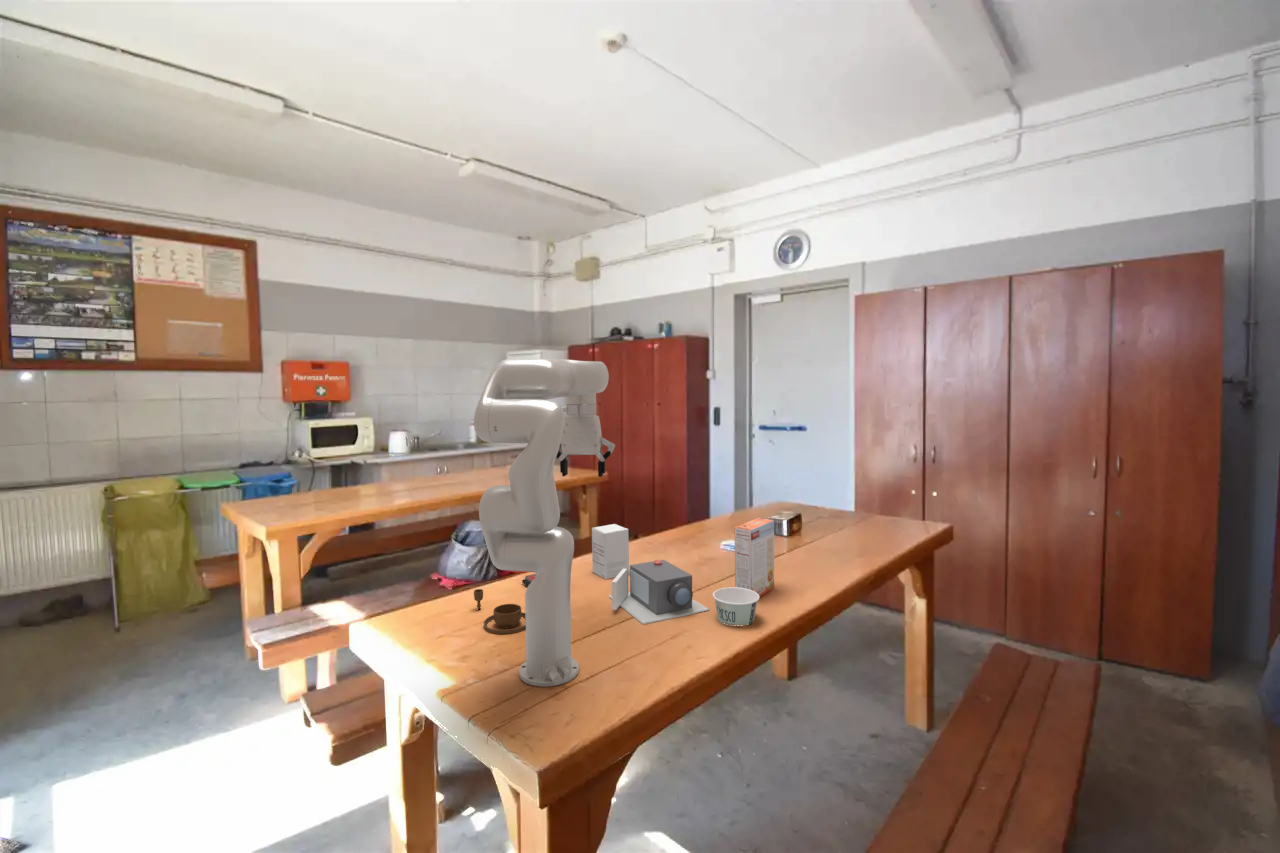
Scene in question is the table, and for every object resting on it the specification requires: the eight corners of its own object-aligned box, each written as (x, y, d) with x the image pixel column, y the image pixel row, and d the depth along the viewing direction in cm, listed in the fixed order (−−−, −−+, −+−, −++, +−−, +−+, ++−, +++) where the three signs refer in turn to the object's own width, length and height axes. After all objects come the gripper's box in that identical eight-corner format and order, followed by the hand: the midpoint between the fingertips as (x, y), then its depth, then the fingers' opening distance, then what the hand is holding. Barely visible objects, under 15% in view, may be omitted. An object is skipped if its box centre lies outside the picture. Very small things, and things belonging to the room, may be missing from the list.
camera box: (709, 610, 160) (709, 573, 159) (643, 624, 151) (642, 585, 150) (669, 585, 180) (669, 552, 179) (608, 596, 171) (608, 562, 170)
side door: (616, 609, 158) (616, 582, 158) (611, 609, 159) (611, 581, 158) (628, 593, 171) (628, 567, 170) (624, 592, 171) (623, 567, 170)
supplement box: (615, 567, 198) (615, 523, 197) (629, 574, 190) (629, 528, 189) (591, 572, 193) (590, 527, 192) (605, 579, 185) (604, 532, 184)
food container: (765, 616, 156) (765, 591, 156) (749, 632, 146) (749, 606, 145) (723, 607, 162) (723, 584, 162) (705, 623, 152) (705, 598, 152)
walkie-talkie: (515, 586, 181) (547, 606, 165) (515, 572, 181) (547, 590, 165) (541, 580, 186) (574, 598, 170) (541, 566, 186) (574, 583, 170)
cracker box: (756, 584, 180) (757, 516, 179) (775, 588, 176) (775, 519, 175) (733, 597, 169) (733, 525, 168) (752, 602, 166) (752, 529, 164)
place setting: (471, 641, 144) (470, 617, 143) (471, 610, 163) (471, 589, 162) (543, 632, 148) (543, 609, 148) (536, 603, 168) (535, 583, 167)
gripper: (545, 411, 152) (546, 477, 153) (611, 411, 150) (612, 478, 151) (553, 410, 160) (554, 473, 161) (616, 410, 157) (617, 474, 159)
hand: (582, 475), depth 156 cm, fingers open, 9 cm apart
